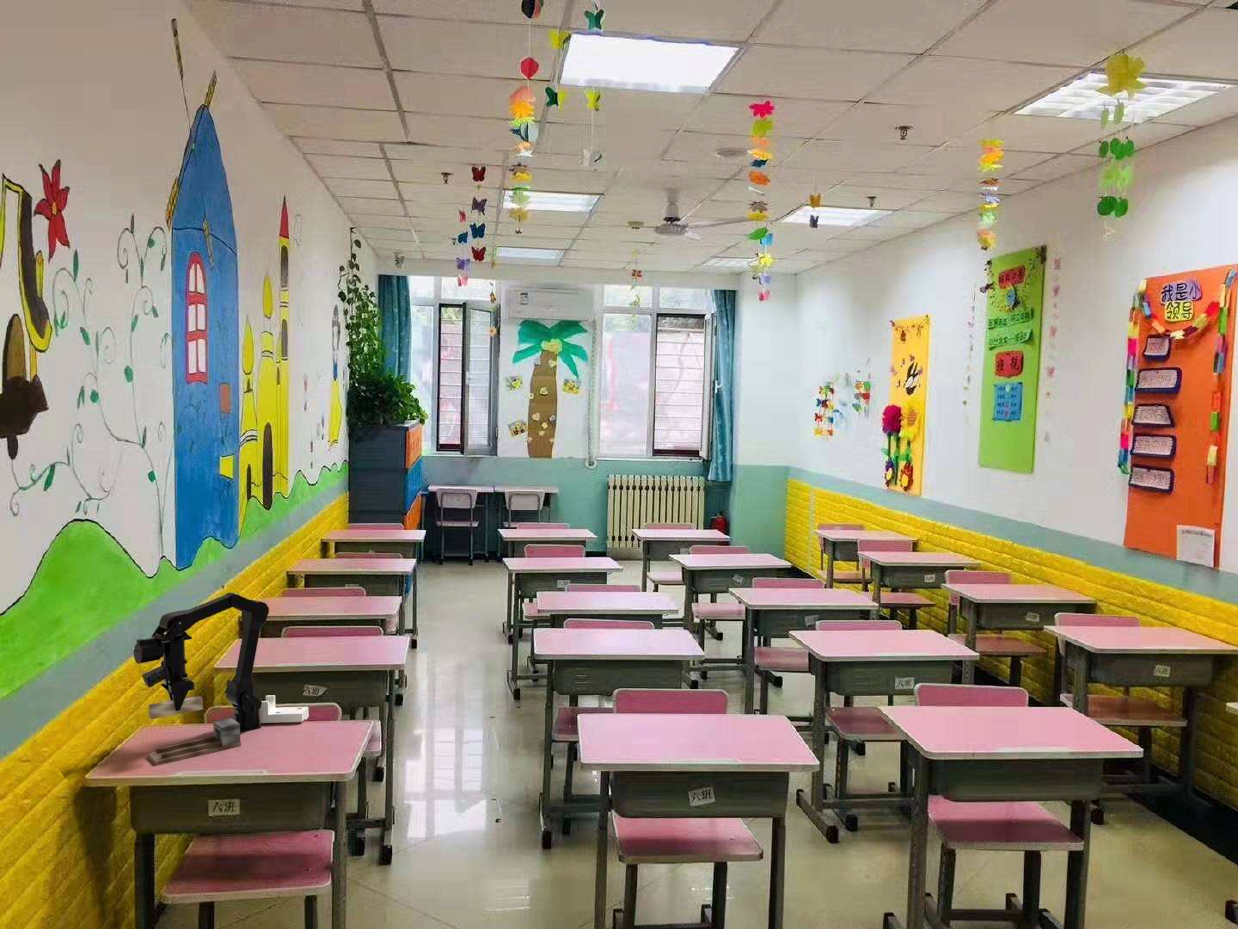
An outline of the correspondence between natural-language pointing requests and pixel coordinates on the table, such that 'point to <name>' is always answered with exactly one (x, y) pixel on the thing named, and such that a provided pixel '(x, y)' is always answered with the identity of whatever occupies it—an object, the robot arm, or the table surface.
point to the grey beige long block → (169, 708)
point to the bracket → (281, 712)
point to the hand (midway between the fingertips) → (176, 709)
